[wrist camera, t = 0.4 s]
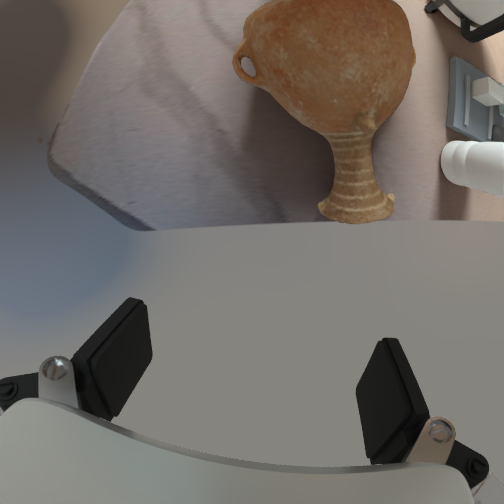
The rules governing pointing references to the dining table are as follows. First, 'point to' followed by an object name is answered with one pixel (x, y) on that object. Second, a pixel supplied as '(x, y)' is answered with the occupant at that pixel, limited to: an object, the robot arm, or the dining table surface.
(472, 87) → the ivory fader
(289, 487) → the robot arm
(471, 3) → the coffee press
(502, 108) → the block
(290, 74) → the jug
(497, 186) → the water bottle
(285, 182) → the dining table surface
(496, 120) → the panel
